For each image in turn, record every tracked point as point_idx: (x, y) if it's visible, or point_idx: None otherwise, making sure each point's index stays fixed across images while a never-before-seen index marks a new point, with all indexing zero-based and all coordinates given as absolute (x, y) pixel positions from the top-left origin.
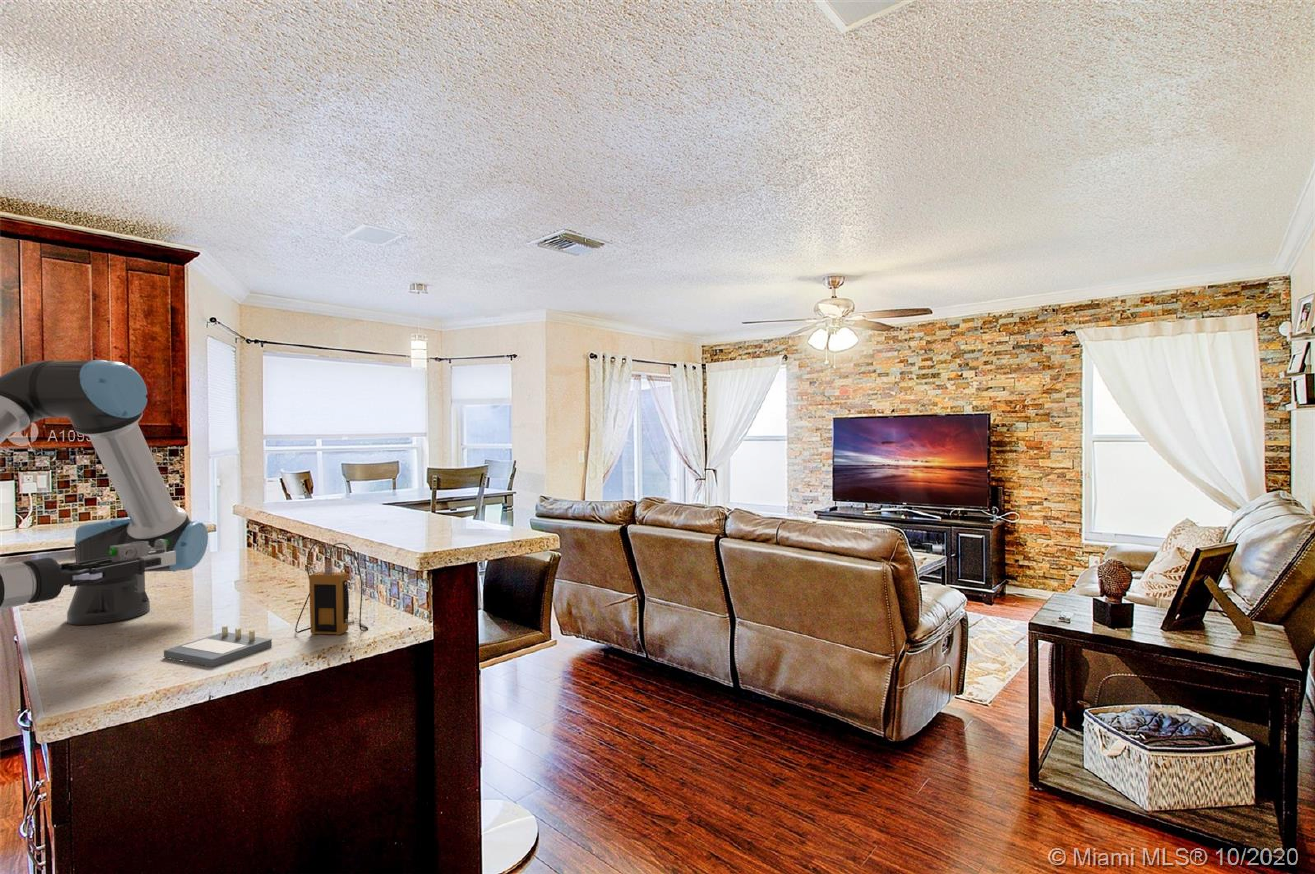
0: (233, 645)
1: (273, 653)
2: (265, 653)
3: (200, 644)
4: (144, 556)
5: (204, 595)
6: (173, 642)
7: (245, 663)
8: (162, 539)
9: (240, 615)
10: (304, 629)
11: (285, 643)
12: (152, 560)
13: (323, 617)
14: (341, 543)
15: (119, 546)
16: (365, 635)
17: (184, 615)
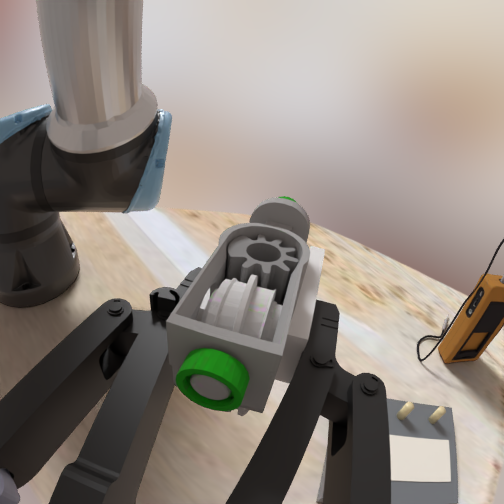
0: (430, 447)
1: (471, 435)
2: (462, 439)
3: None
4: (308, 325)
5: (121, 218)
6: (246, 419)
7: (475, 477)
8: (295, 204)
9: None
10: (418, 349)
11: (448, 399)
12: (336, 336)
13: (468, 342)
14: None
15: (266, 341)
16: (495, 356)
17: (146, 284)
